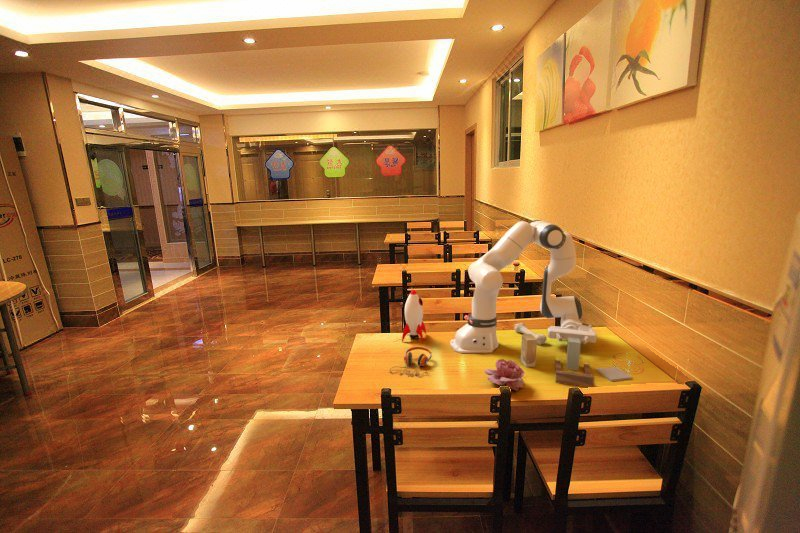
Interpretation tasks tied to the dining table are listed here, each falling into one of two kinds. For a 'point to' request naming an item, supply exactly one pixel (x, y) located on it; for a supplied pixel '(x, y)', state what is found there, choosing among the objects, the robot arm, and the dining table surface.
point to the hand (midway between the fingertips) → (572, 340)
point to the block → (573, 354)
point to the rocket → (414, 316)
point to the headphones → (421, 360)
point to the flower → (506, 374)
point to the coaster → (613, 373)
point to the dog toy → (521, 328)
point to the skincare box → (528, 350)
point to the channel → (574, 376)
